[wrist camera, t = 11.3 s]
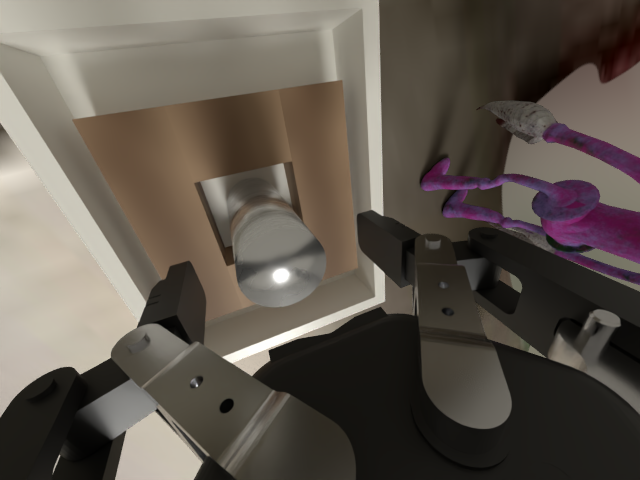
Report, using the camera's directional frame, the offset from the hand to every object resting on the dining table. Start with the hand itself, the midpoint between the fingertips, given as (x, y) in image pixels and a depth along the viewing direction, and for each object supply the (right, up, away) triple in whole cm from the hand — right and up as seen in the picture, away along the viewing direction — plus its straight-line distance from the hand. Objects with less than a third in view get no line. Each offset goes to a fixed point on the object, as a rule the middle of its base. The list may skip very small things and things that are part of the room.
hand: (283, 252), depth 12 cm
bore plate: (-4, +4, +8) cm, 10 cm away
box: (-4, +4, +8) cm, 10 cm away
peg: (-3, +3, +7) cm, 9 cm away
